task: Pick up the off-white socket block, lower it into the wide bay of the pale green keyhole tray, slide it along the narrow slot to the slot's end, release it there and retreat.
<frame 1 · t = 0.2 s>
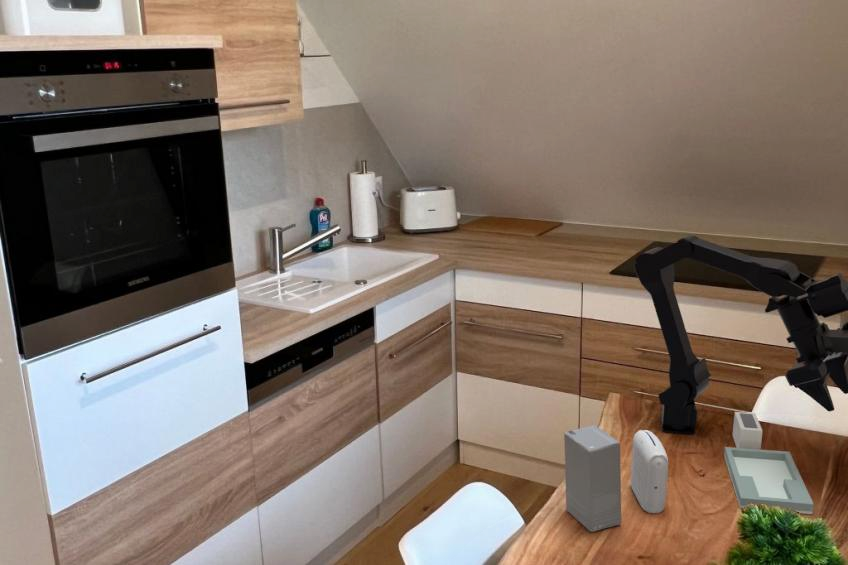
hand: (839, 401, 153), 15 cm above the table, tool tilted 30°, fingers open, 9 cm apart
photo printer: (646, 499, 149), on the table
keyhole tray: (765, 483, 153), on the table
skincare box: (590, 518, 143), on the table
socket block: (745, 445, 167), on the table
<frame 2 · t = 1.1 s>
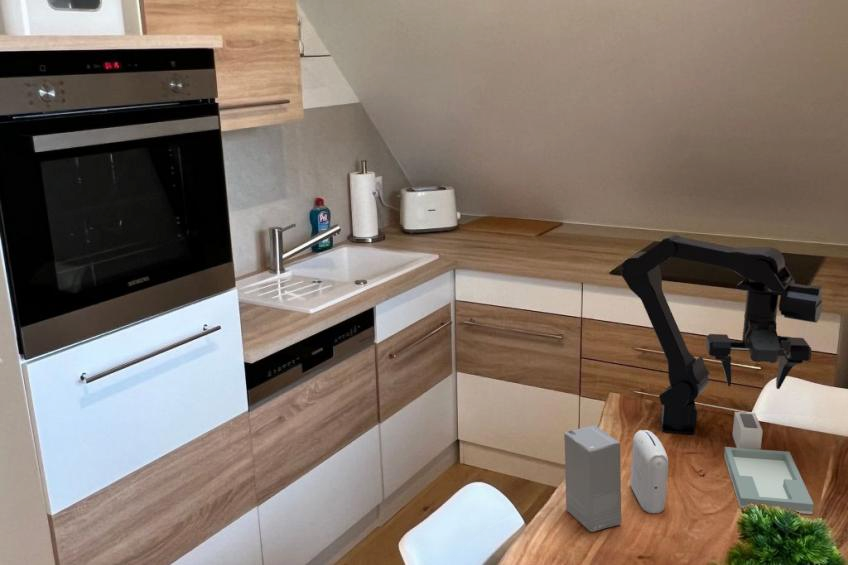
hand: (753, 387, 164), 13 cm above the table, tool pointing down, fingers open, 9 cm apart
nothing on the table moved.
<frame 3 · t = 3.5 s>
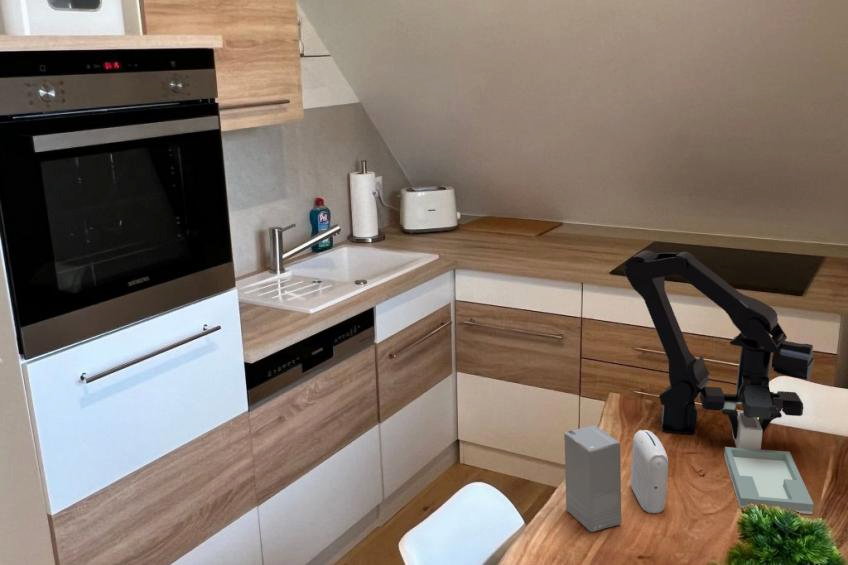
hand: (746, 439, 167), 1 cm above the table, tool pointing down, fingers closed on socket block, 4 cm apart
socket block: (745, 445, 167), on the table, touching gripper
everything else where it was.
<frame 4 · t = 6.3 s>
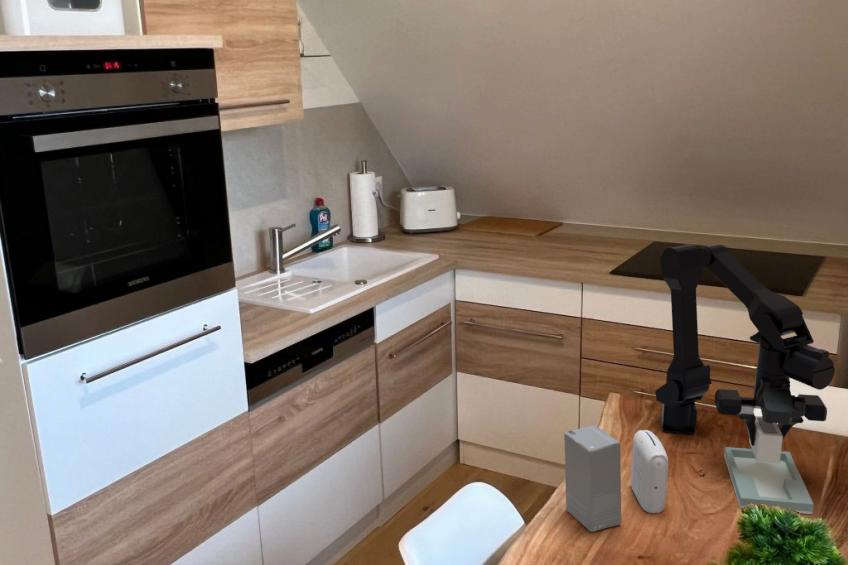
hand: (764, 445, 155), 6 cm above the table, tool pointing down, fingers closed on socket block, 4 cm apart
socket block: (763, 452, 155), point 5 cm above the table, touching gripper
everything else where it was.
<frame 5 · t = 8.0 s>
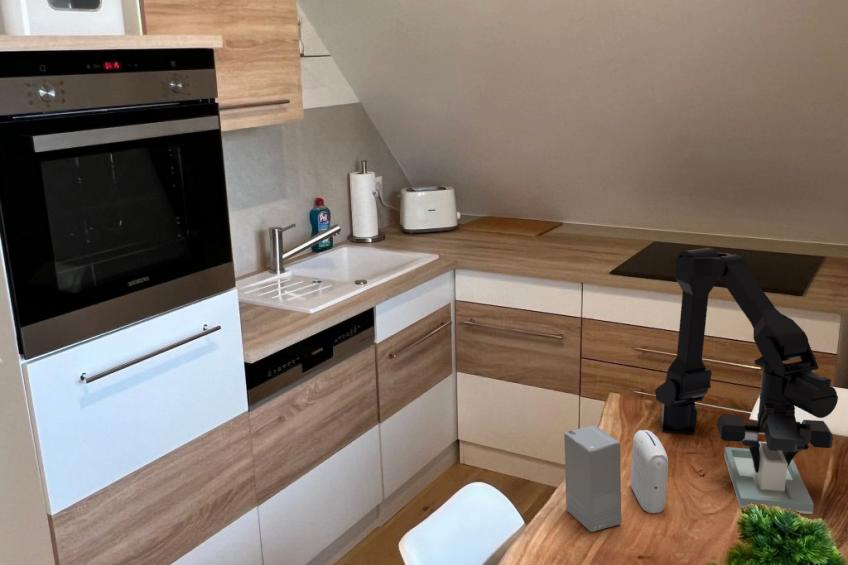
hand: (768, 472, 151), 3 cm above the table, tool pointing down, fingers closed on socket block, 4 cm apart
socket block: (768, 478, 152), point 2 cm above the table, touching gripper
everything else where it was.
when the fingers open (2 cm above the table, at t = 9.4 s): socket block stays where it is, resting on keyhole tray.
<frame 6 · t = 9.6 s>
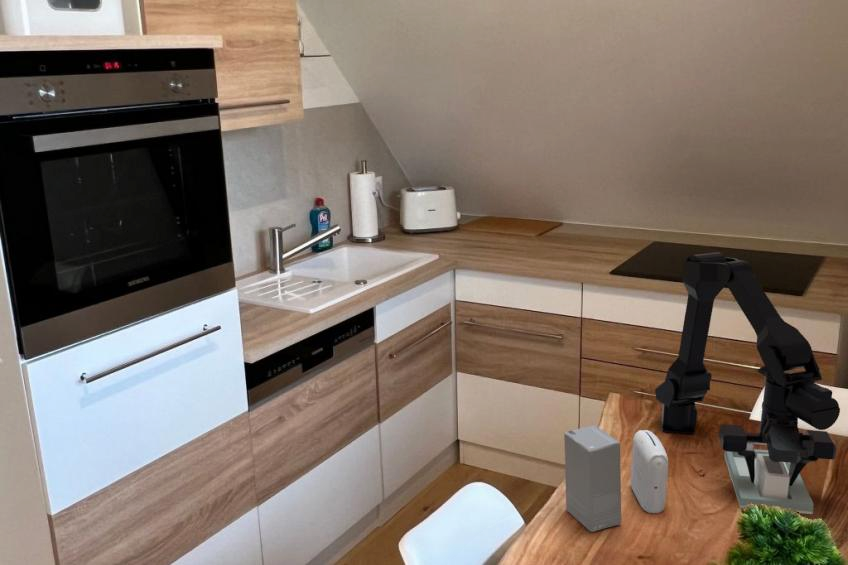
hand: (770, 483, 149), 2 cm above the table, tool pointing down, fingers open, 6 cm apart
socket block: (769, 492, 149), resting on keyhole tray
everything else where it was.
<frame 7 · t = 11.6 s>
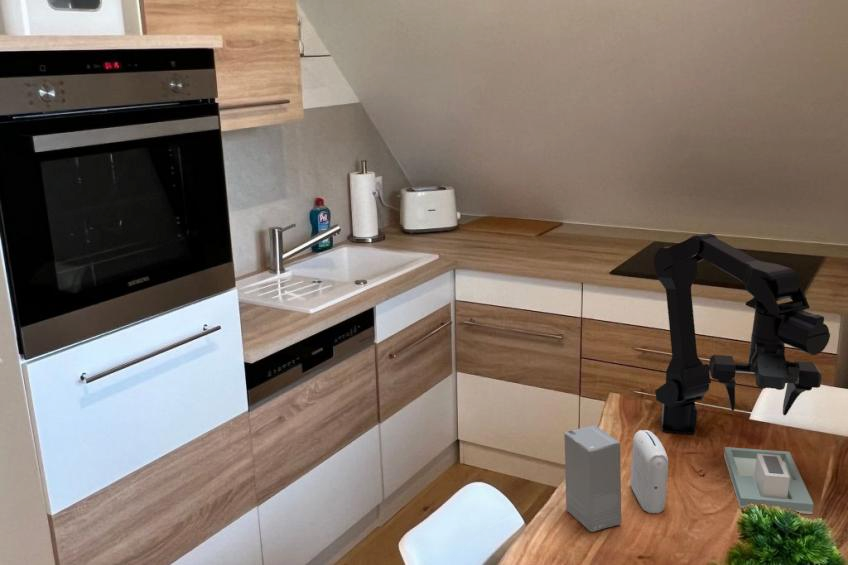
hand: (758, 412, 154), 12 cm above the table, tool pointing down, fingers open, 9 cm apart
nothing on the table moved.
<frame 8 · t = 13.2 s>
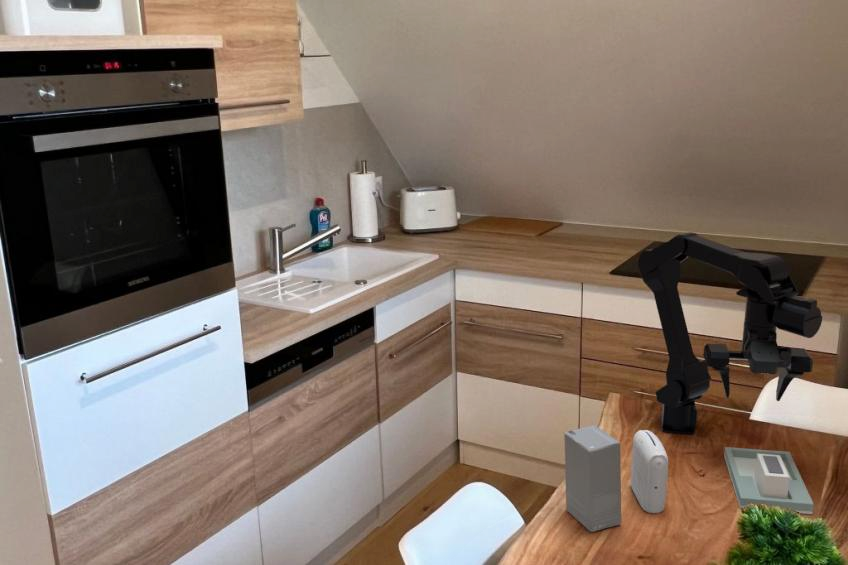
hand: (752, 398, 158), 13 cm above the table, tool pointing down, fingers open, 9 cm apart
nothing on the table moved.
at the end: socket block 0.2 cm from the target spot on the keyhole tray, point 0.5 cm above the keyhole tray's base; socket block tilted 0°; the gripper is holding nothing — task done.
